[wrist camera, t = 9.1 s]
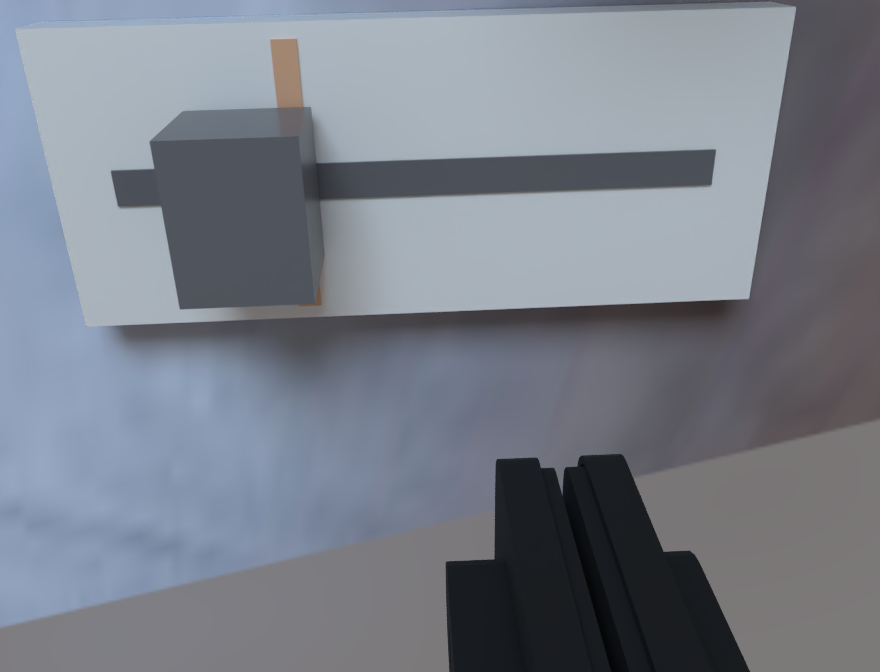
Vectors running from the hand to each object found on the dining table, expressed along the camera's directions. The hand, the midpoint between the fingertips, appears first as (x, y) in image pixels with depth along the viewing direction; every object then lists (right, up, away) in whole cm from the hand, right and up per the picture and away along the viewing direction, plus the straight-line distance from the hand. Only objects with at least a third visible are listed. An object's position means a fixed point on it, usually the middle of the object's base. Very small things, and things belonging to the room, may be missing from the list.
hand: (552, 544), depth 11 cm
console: (-2, +9, +18) cm, 20 cm away
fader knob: (-8, +8, +16) cm, 19 cm away
